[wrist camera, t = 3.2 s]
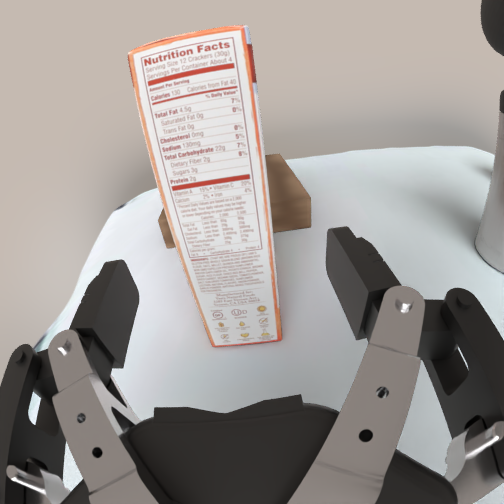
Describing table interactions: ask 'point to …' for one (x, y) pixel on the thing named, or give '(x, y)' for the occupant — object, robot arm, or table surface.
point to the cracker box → (213, 175)
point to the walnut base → (273, 200)
